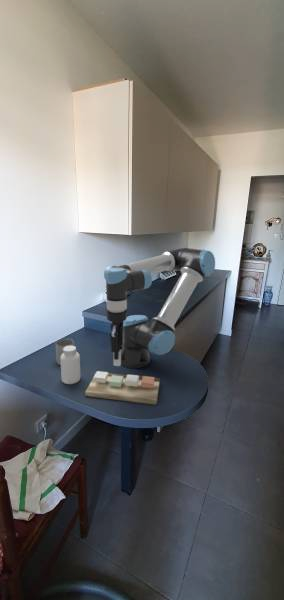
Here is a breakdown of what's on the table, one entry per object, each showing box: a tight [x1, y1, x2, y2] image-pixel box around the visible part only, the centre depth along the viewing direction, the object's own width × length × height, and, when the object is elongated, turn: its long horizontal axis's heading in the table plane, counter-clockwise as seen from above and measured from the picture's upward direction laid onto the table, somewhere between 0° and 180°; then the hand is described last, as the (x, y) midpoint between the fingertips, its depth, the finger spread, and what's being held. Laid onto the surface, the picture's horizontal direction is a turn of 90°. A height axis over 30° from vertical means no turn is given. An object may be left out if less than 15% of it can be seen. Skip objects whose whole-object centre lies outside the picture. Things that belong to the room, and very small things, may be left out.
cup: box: [55, 338, 75, 366], centre depth 133 cm, size 8×8×10 cm
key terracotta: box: [141, 375, 156, 388], centre depth 110 cm, size 5×5×2 cm
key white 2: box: [125, 374, 140, 386], centre depth 111 cm, size 5×5×2 cm
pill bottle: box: [60, 345, 81, 385], centre depth 117 cm, size 8×8×15 cm
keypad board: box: [84, 372, 161, 405], centre depth 113 cm, size 14×28×3 cm, turn 82°
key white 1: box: [92, 370, 109, 383], centre depth 113 cm, size 5×5×2 cm
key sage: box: [109, 375, 123, 387], centre depth 113 cm, size 5×5×2 cm
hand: (117, 364), depth 111 cm, fingers closed
